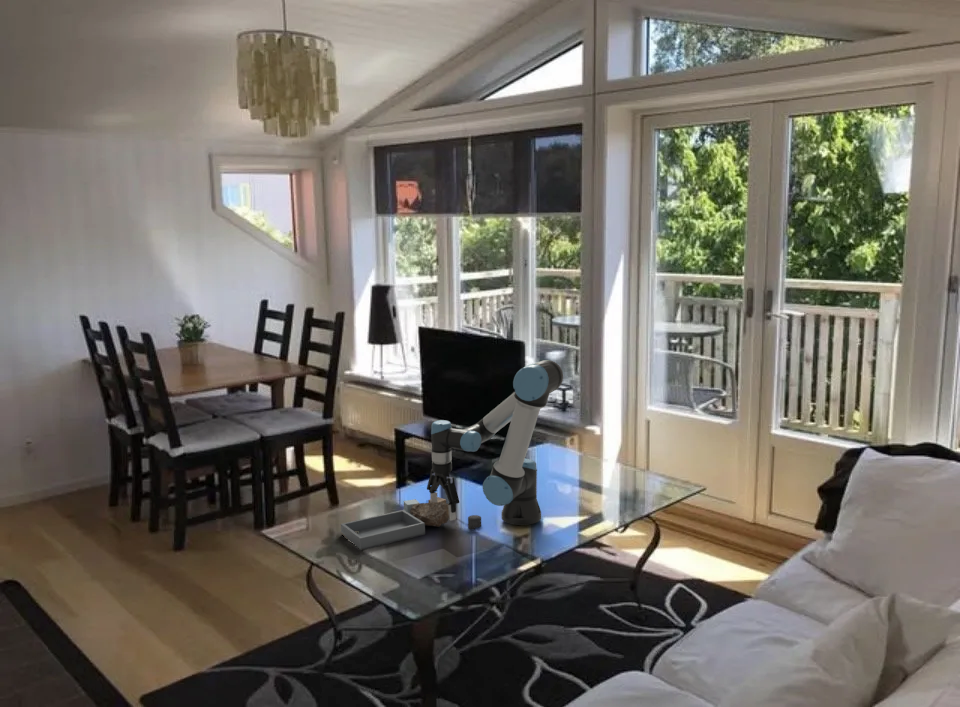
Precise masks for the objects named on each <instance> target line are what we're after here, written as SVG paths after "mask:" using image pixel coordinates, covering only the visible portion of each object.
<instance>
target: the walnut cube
mask: <svg viewBox="0 0 960 707" xmlns="http://www.w3.org/2000/svg"><path fill="white" fill-rule="evenodd" d="M437 502H443V503H446V504H447V499H446V498H442V497H439V496H437ZM427 503H431V502H430V499H428V500H427Z"/></svg>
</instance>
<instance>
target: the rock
mask: <svg viewBox="0 0 960 707" xmlns="http://www.w3.org/2000/svg"><path fill="white" fill-rule="evenodd" d="M448 504H449V503H447V502H446V503H443V502H431V503H428V502H422V503H421V502H419V503H417V504H414V505H413V506H412V508H411V510H410V513H411V514H412V515H413V516H414V517H416V518H417V519H419V520H421V521H422V522H424V523H425V526H430V527H437V528H438V527H441V526H442V525H443V524H447V523H448V522H449V506H448Z"/></svg>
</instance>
